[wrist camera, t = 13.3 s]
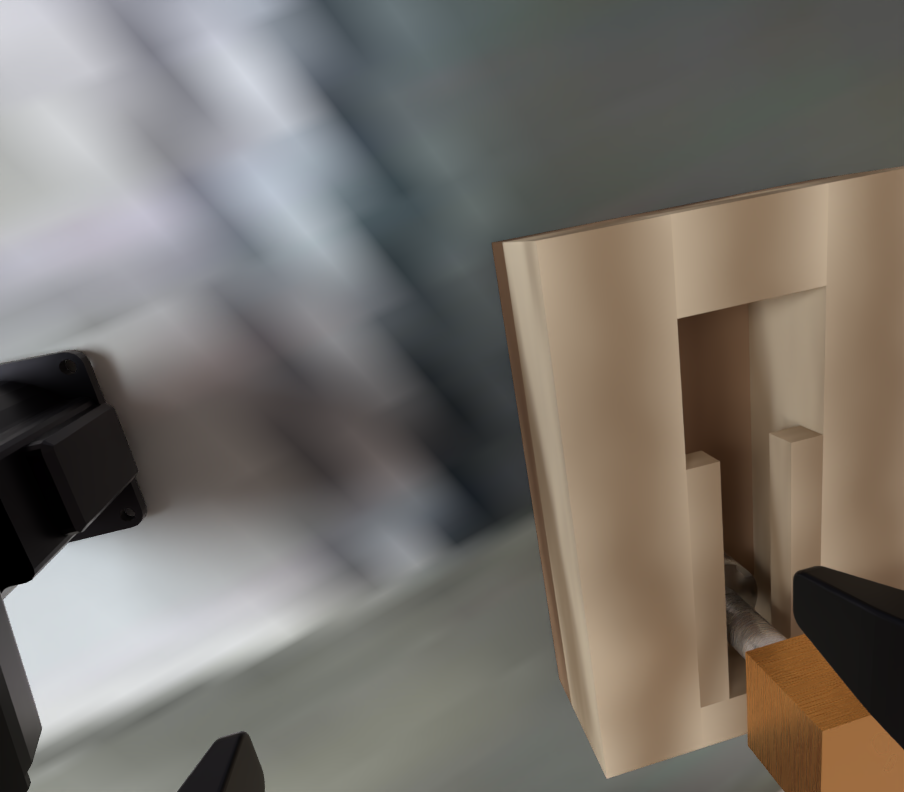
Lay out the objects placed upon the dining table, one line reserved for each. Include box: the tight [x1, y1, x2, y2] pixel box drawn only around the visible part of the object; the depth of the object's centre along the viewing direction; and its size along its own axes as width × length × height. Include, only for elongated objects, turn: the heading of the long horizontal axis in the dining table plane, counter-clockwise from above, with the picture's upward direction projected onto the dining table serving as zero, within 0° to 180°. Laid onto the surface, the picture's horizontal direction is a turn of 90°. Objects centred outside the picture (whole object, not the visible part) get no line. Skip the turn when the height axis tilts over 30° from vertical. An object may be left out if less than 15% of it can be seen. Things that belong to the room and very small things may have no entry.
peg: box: [724, 552, 904, 792], centre depth 19 cm, size 4×4×8 cm
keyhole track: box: [492, 166, 904, 779], centre depth 21 cm, size 13×20×5 cm, turn 10°
